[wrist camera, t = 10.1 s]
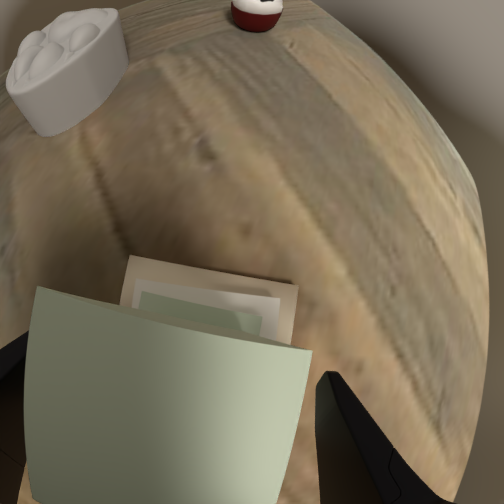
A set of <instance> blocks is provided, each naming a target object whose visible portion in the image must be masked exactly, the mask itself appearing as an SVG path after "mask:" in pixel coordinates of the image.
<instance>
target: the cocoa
mask: <svg viewBox="0 0 504 504" xmlns="http://www.w3.org/2000/svg"><path fill="white" fill-rule="evenodd" d="M282 2H283V1H282V0H232V2H231V11H232V16H233V19H234V22H235V23H236V24H237V25H238V26H239V27H241V28H243V29H245V30H248V31H253V32H261V31H266V30H269V29H271V28H272V27H274V26H275V24H276V23H277V21H278V20H279V18H280V16H281V14H282V11H283V6H282Z"/></svg>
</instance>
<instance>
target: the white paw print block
mask: <svg viewBox="0 0 504 504" xmlns="http://www.w3.org/2000/svg"><path fill="white" fill-rule="evenodd" d="M128 64H129V59H128V54H127V50H126V45H125V41H124V36H123V32H122V27H121V23H120V18H119V13H118V11H117V10H116V9H112V8H104V9H98V8H92V9H88V10H83V11H77V12H66V13H63V14H61V15H60V16H59V17H57V18H56V19H55V20H54V21H53V22H52V23H50V24H49V25H48V26H46V27H45V28H44V29H43V30H42V31H34V32H32V33H30V34H29V35H28V36H26V37H25V39H24V40H23V41H22V43H21V45H20V47H19V51H18V56H17V57H16V59H15V60H14V62H13V64H12V66H11V68H10V70H9V73H8V76H7V79H6V88H7V91H8V93H9V95H10V96H11V98H12V99H13V101H14V102H15V104H16V105H17V107H18V108H19V109H20V111H21V112H22V114H23V115H24V116H25V118H26V119H27V120H28V122H29V123H30V125H31V126H32V127H33V129H34V130H35V131H36V133H37V134H38V135H40V136H43V137H50V136H54V135H57V134H59V133H61V132H64V131H66V130H67V129H69V128H71V127H73V126H75V125H76V124H78V123H79V122H80V121H82V120H83V119H84V118H86V117H87V116H88V115H90V114H91V113H92V112H93V111H95V110H96V109H97V108H98V107H99V106H101V105H102V104H103V102H104V101H105V100H106V99H107V98H108V96H109V95H110V94H111V92H112V91H113V90H114V88H115V87H116V85H117V84H118V82H119V81H120V79H121V78H122V76H123V74H124V73H125V71H126V69H127V67H128Z"/></svg>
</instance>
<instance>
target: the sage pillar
mask: <svg viewBox="0 0 504 504" xmlns="http://www.w3.org/2000/svg"><path fill="white" fill-rule="evenodd" d="M261 323H262V316H256V315H251V314H246V313H240V312H235V311H230V310H225V309H220V308H215V307H210V306H206V305H201V304H196V303H192V302H187V301H183V300H178V299H174V298H170V297H165V296H161V295H157V294H153V293H149V292H145V291H142V293H141V298H140V302H139V307H138V309H136V308H131V307H126V306H121V305H116V304H111V303H106V302H102V301H97V300H93V299H88V298H84V297H80V296H76V295H72V294H68V293H63V292H60V291H56V290H52V289H48V288H44V287H41V286H37V289H36V294H35V299H34V304H33V310H32V315H31V322H30V328H29V336H28V344H27V353H26V364H25V380H24V432H25V447H26V458H27V466H28V474H29V481H30V487H31V492H32V498H33V499H34V500H36V501H38V502H40V503H42V504H276V502H277V499H278V496H279V492H280V489H281V485H282V482H283V479H284V475H285V471H286V468H287V464H288V460H289V456H290V453H291V449H292V445H293V441H294V437H295V433H296V428H297V424H298V420H299V415H300V411H301V407H302V402H303V397H304V393H305V388H306V383H307V378H308V373H309V367H310V362H311V357H312V351H311V350H308V349H304V348H300V347H296V346H293V345H289V344H285V343H282V342H278V341H275V340H271V339H268V338H264V337H261V336H259V334H260V328H261Z"/></svg>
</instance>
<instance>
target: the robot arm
mask: <svg viewBox="0 0 504 504" xmlns="http://www.w3.org/2000/svg"><path fill="white" fill-rule="evenodd" d="M28 336H29V331H27V332H26V333H24V334H23V335H21V336H20V337H18V338H17V339H15V340H14V341H12V342H11V343H9V344H8V345H6V346H5V347H3V348H2V349H0V504H17V500H18V495H19V490H20V485H21V481H22V477H23V472H24V467H25V464H26V460H27V458H26V447H25V432H24V380H25V364H26V353H27V344H28ZM315 437H316V449H317V461H318V474H319V489H320V504H456V503H453V502H449V501H446V500H444V499H442V498H440V497H439V496H438V495H436V494H435V493H434V492H433V491H432V490H431V489H430V488H429V487H428V486H427V485H426V484H425V483H424V482H423V481H422V480H421V479H420V477H419V476H418V475H417V474H416V473H415V472H414V471H413V470H412V469H411V468H410V467H409V465H408V464H407V463H406V462H405V460H404V459H403V458H402V457H401V455H400V454H399V453H398V451H397V450H396V449H395V448H393V445H392V444H391V442H390V441H389V440H388V438H387V437H386V436H385V434H384V433H383V432H382V430H381V429H380V427H379V426H378V425H377V423H376V422H375V421H374V419H373V418H372V417H371V415H370V414H369V413H368V411H367V410H366V409H365V407H364V406H363V405H362V403H361V402H360V401H359V399H358V398H357V397H356V395H355V394H354V393H353V391H352V390H351V389H350V387H349V386H348V385H347V383H346V382H345V381H344V379H343V378H342V376H341V375H340V374H339V373H338V372H336V371H326V372H325V373H324V374H323V376H322V377H321V379H320V380H319V382H318V383H317V386H316V399H315Z"/></svg>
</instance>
